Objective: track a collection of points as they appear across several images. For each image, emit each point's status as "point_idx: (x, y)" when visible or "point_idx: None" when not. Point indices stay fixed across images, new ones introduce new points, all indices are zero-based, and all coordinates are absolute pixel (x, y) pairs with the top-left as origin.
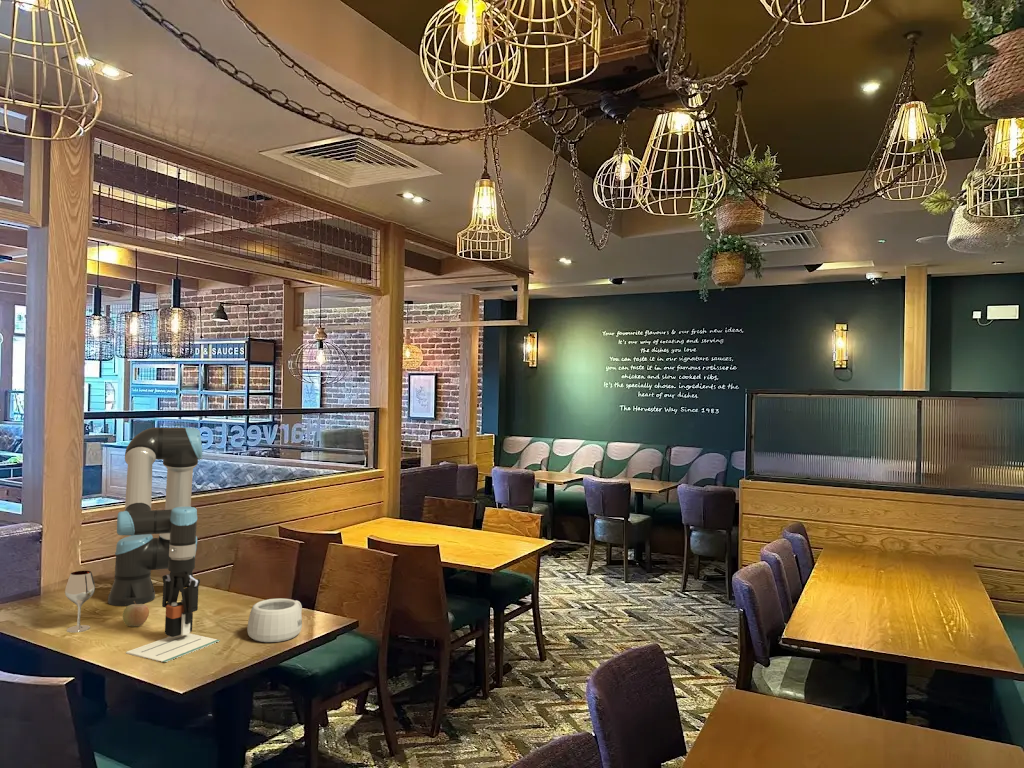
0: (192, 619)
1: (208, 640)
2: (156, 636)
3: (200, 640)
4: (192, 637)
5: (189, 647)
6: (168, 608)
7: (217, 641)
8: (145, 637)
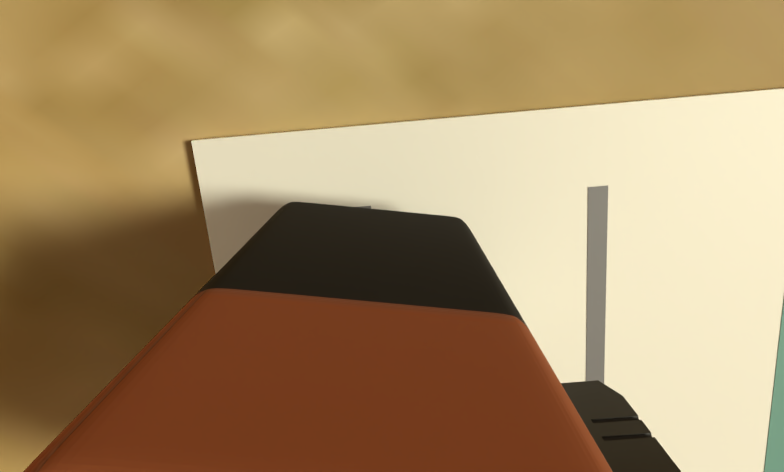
0: (499, 279)
1: (724, 171)
2: (81, 364)
3: (637, 221)
4: (473, 208)
5: (697, 414)
6: None
7: None
8: (28, 437)
